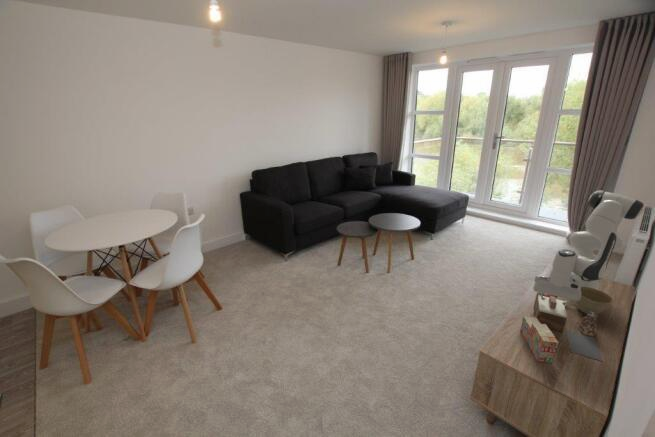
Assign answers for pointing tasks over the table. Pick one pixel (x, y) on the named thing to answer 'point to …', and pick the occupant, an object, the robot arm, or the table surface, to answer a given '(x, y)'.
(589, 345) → the mat
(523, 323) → the stack of blocks
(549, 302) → the lid
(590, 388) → the table surface
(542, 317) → the wooden box
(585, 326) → the figurine
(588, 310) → the planter bowl
